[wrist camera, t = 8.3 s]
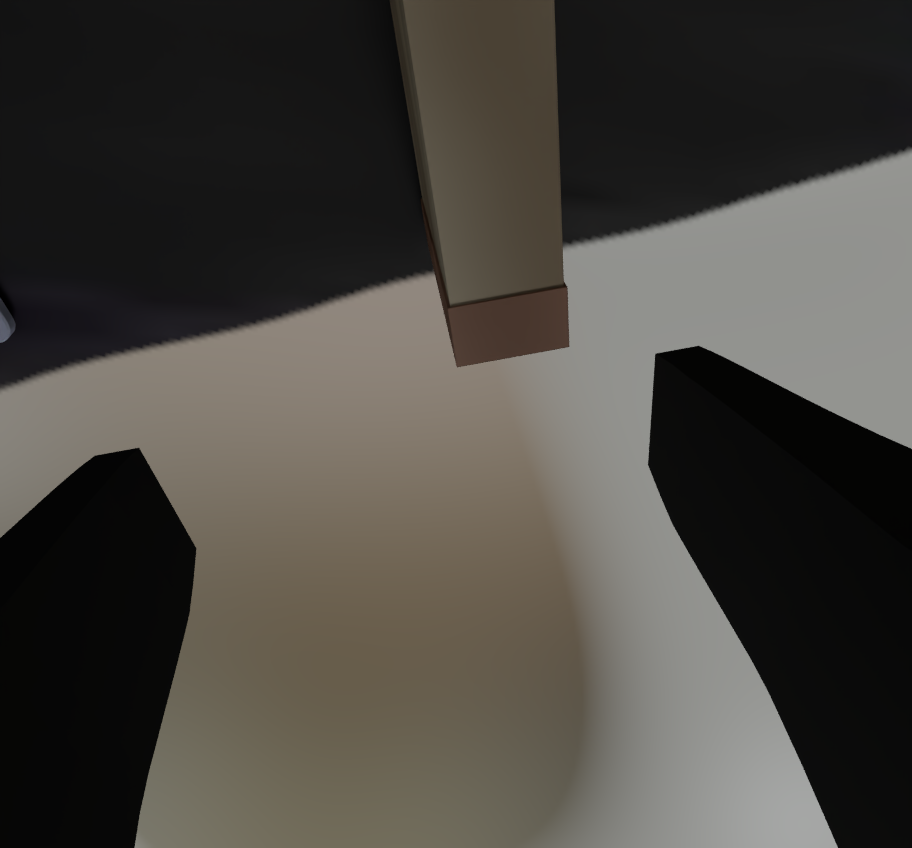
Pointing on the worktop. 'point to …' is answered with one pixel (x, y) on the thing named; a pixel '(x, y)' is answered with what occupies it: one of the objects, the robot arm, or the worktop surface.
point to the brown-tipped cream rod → (488, 168)
